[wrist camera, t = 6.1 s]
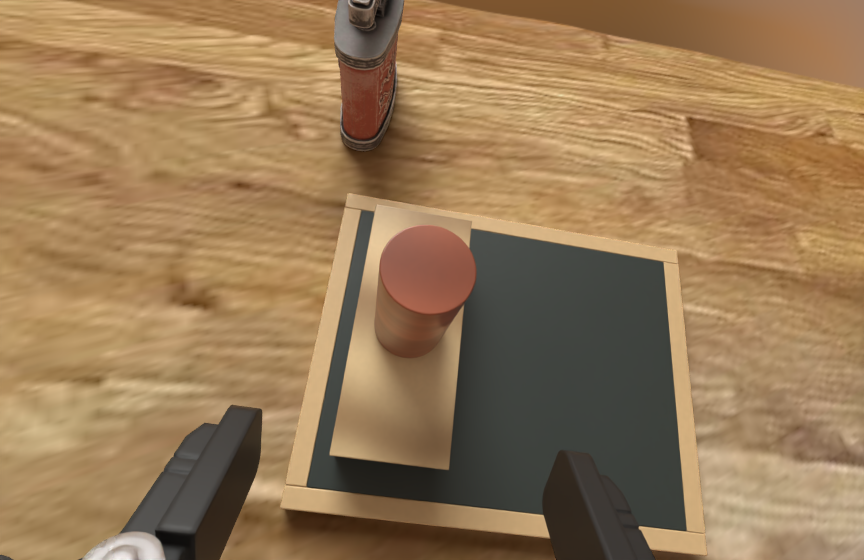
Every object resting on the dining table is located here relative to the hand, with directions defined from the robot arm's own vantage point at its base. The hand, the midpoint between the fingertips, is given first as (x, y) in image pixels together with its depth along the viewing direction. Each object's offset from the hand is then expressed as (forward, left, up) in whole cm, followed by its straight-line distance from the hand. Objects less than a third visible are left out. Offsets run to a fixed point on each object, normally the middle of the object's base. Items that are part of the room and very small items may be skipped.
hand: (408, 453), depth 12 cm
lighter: (-14, +18, -12) cm, 26 cm away
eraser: (-2, +5, -11) cm, 12 cm away
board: (+3, +8, -12) cm, 15 cm away
